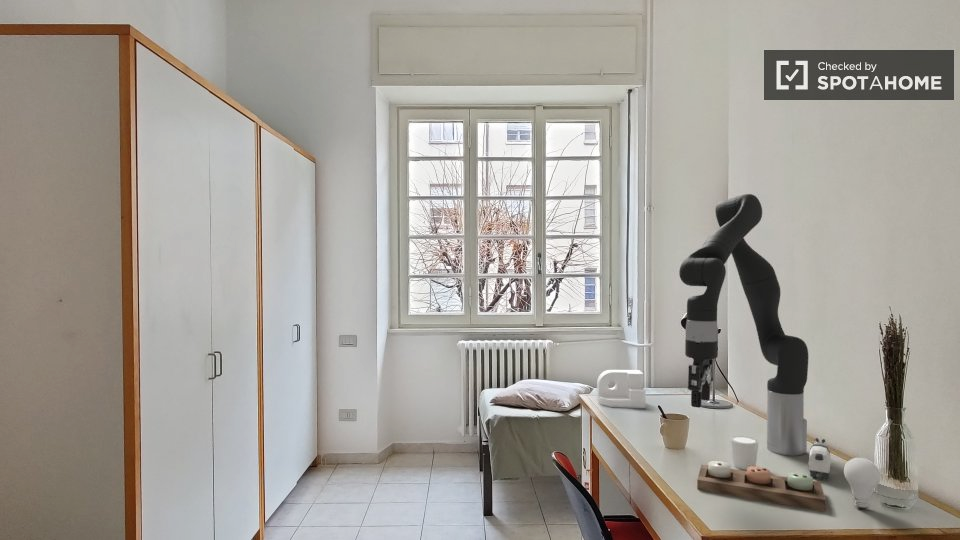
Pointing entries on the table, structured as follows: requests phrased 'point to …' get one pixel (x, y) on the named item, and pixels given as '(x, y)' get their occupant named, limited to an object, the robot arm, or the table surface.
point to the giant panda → (819, 459)
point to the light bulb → (862, 480)
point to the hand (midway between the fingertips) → (700, 403)
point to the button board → (763, 489)
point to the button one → (719, 469)
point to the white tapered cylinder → (743, 451)
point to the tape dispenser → (621, 389)
